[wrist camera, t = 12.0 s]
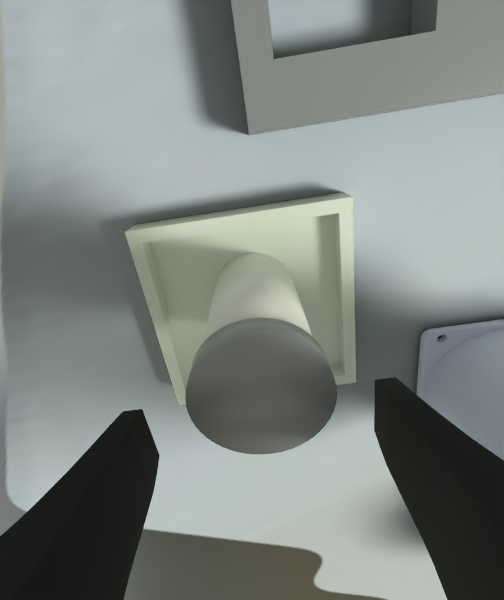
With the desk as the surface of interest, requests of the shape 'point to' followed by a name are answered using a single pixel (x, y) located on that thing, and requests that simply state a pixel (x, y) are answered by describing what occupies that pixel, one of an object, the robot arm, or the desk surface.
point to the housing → (371, 66)
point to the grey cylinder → (259, 363)
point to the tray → (244, 240)
